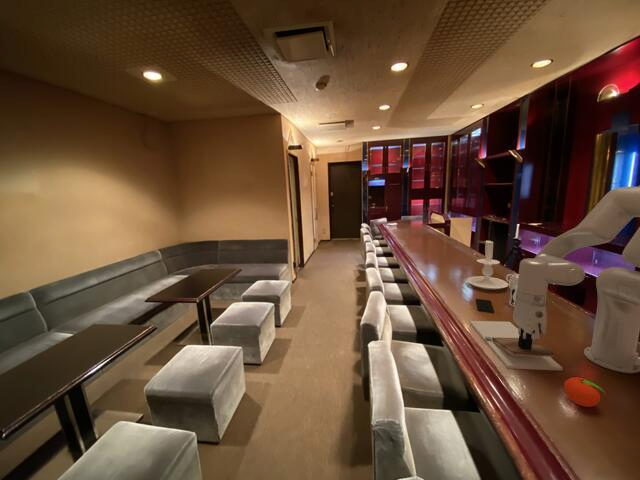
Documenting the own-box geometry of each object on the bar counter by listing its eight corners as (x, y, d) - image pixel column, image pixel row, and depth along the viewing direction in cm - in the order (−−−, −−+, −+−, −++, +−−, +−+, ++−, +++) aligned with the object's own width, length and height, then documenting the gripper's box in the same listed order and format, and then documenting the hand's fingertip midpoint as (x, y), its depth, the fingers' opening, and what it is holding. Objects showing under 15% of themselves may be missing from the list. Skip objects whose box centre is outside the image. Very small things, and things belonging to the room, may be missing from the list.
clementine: (602, 403, 71) (606, 379, 69) (606, 420, 65) (610, 395, 64) (562, 389, 76) (565, 367, 75) (562, 404, 71) (565, 381, 69)
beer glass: (528, 308, 125) (531, 278, 122) (511, 308, 126) (514, 278, 124) (520, 302, 132) (522, 274, 129) (504, 302, 133) (507, 273, 130)
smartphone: (490, 300, 135) (494, 312, 122) (490, 301, 135) (494, 314, 122) (475, 298, 138) (477, 310, 125) (475, 299, 138) (477, 311, 125)
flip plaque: (526, 338, 98) (527, 341, 98) (492, 337, 99) (492, 340, 99) (554, 353, 84) (554, 356, 84) (513, 351, 86) (513, 355, 85)
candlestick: (522, 295, 140) (527, 244, 134) (470, 292, 148) (473, 243, 143) (509, 282, 159) (512, 237, 154) (463, 280, 167) (465, 237, 162)
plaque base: (562, 370, 83) (563, 364, 83) (507, 368, 86) (507, 362, 85) (509, 323, 112) (509, 318, 112) (469, 323, 115) (469, 318, 114)
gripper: (561, 307, 77) (552, 362, 80) (528, 288, 92) (523, 336, 95) (532, 306, 78) (526, 361, 81) (505, 288, 93) (500, 335, 96)
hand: (524, 347), depth 88 cm, fingers closed
